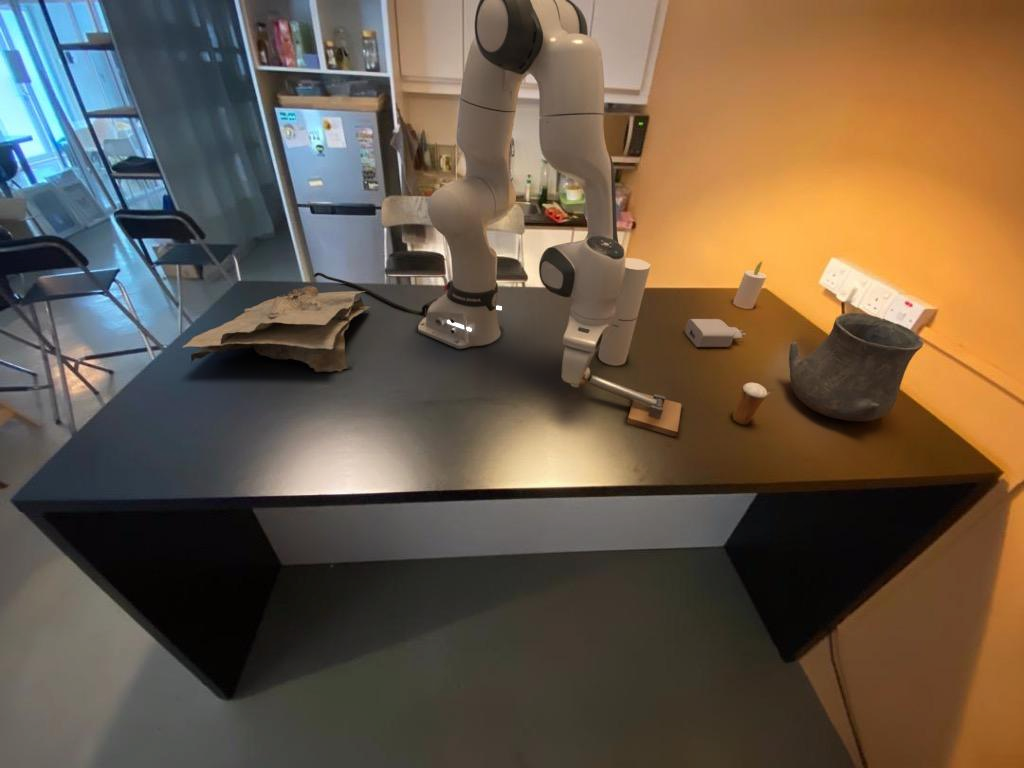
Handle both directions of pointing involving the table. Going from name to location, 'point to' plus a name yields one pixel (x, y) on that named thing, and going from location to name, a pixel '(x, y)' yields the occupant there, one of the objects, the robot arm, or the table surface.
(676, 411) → the holder base
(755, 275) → the candle
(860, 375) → the vessel
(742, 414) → the milkshake
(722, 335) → the charger
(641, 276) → the cylindrical container
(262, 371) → the table surface
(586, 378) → the ball topped rod
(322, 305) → the crumpled cardboard stack
